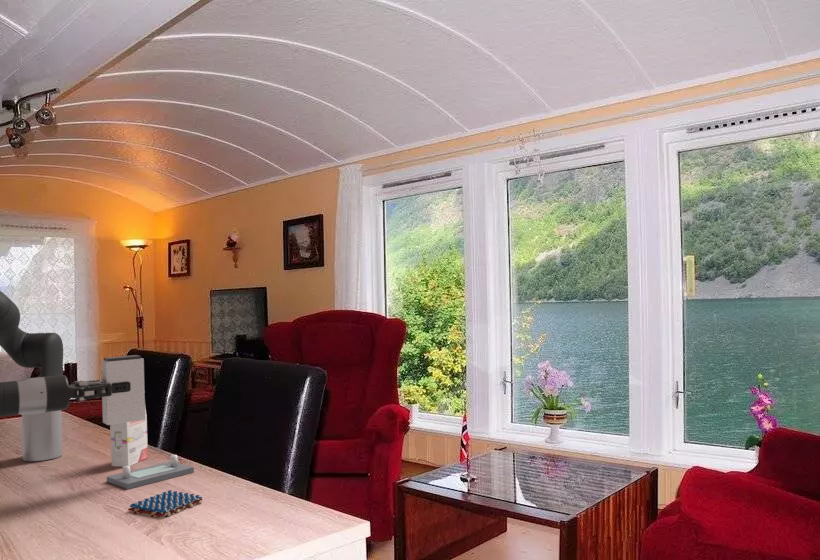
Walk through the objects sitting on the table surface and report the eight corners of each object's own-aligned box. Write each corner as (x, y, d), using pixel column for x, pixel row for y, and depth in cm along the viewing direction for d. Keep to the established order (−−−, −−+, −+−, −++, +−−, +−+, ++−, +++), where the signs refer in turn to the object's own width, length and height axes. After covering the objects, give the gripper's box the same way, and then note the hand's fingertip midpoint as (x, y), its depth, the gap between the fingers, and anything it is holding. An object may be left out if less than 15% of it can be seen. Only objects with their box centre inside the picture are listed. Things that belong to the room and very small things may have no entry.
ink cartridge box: (131, 457, 169) (130, 401, 169) (148, 458, 168) (147, 401, 168) (110, 466, 160) (108, 407, 161) (127, 467, 159) (126, 407, 160)
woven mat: (125, 514, 125) (124, 504, 126) (168, 498, 135) (168, 488, 135) (162, 522, 121) (162, 511, 121) (205, 505, 130) (204, 495, 130)
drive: (102, 422, 146) (101, 357, 146) (139, 417, 151) (137, 354, 151) (107, 425, 142) (105, 359, 142) (145, 419, 147) (143, 355, 147)
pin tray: (127, 489, 140) (127, 472, 141) (106, 481, 147) (106, 465, 147) (193, 472, 153) (193, 456, 153) (171, 465, 159) (171, 450, 159)
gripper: (47, 379, 131) (135, 371, 141) (35, 374, 142) (118, 366, 153) (48, 416, 131) (136, 405, 141) (36, 408, 142) (119, 398, 153)
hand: (126, 385), depth 147 cm, fingers closed on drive, 4 cm apart
